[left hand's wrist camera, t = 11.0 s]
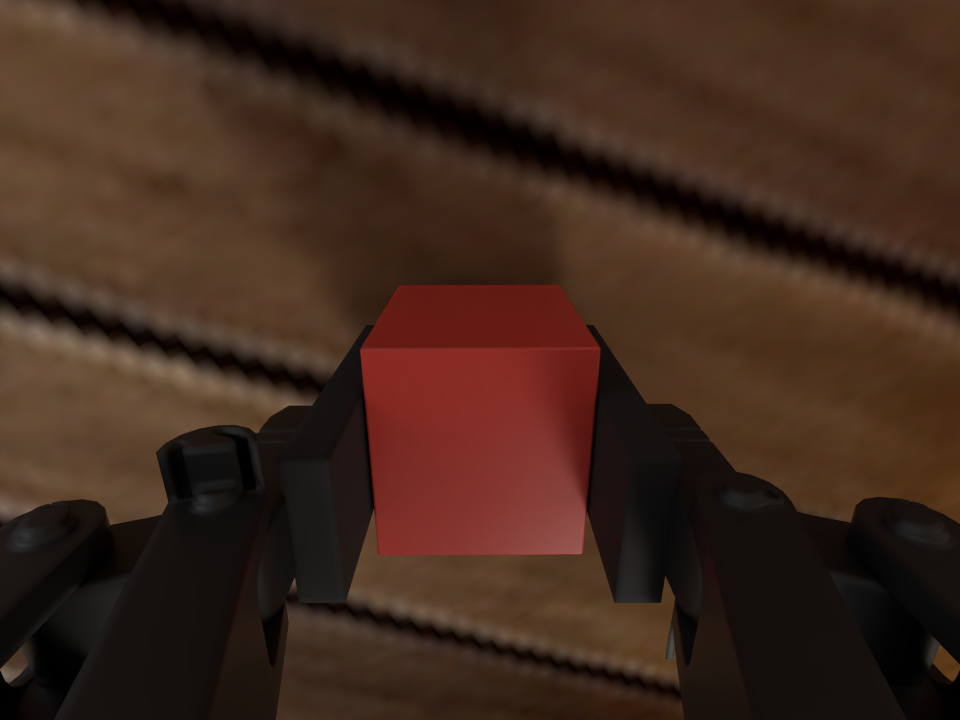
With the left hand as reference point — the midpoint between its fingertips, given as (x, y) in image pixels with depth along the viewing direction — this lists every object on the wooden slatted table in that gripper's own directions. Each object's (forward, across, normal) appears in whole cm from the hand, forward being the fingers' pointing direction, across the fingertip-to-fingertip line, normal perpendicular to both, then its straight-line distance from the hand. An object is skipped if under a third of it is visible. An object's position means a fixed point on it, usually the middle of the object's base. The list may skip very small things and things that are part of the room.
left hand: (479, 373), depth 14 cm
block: (+1, 0, 0) cm, 1 cm away
